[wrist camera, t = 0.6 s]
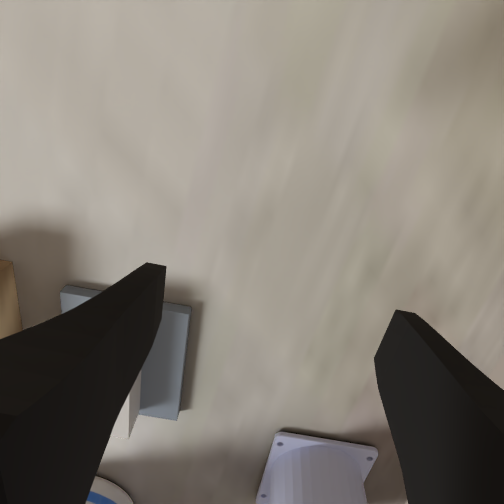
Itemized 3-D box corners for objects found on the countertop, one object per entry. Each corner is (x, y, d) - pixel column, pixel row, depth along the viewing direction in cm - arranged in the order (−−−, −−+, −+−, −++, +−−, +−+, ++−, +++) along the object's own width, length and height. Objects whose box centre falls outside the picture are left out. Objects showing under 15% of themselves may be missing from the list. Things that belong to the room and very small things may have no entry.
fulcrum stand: (179, 411, 29) (168, 450, 26) (74, 394, 29) (52, 431, 26) (191, 306, 24) (180, 340, 22) (66, 284, 24) (38, 316, 21)
